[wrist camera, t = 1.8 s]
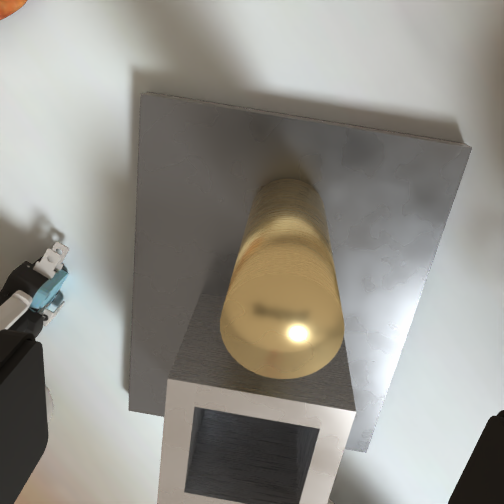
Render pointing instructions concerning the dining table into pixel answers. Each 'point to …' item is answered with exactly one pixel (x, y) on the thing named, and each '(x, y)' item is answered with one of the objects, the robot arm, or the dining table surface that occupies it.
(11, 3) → the bread slice
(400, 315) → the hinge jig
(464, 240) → the dining table surface
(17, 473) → the robot arm
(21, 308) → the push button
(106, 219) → the dining table surface
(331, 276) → the brass pin
